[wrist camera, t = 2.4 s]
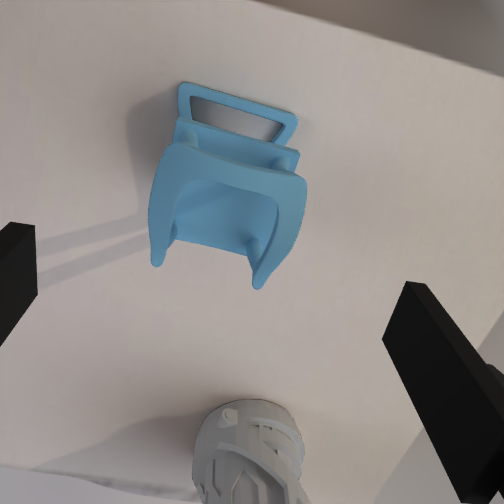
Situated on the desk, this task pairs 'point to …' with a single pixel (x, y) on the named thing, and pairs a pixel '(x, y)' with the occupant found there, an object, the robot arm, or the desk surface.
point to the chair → (228, 187)
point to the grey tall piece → (249, 456)
